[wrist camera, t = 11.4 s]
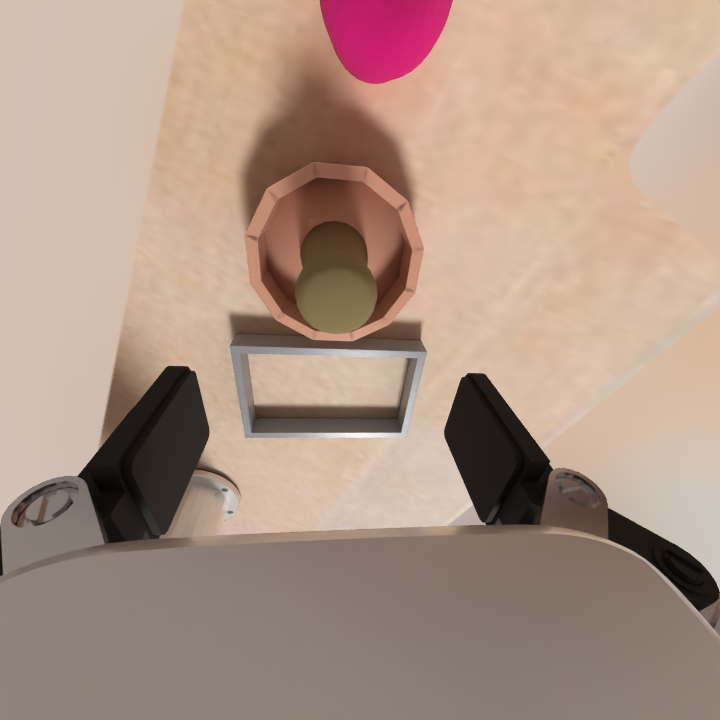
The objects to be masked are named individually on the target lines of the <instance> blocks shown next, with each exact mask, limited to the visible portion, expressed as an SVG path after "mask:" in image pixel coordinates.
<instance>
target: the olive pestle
mask: <svg viewBox="0 0 720 720" xmlns="http://www.w3.org/2000/svg"><path fill="white" fill-rule="evenodd" d="M300 257H301V262H302V270H301V272H300V274H299V276H298V278H297V281H296V289H295V297H296V302H297V307H298V309H299V311H300V312H301V314H302V316H303V318H304V319H305V320H306V321H307V322H308V323H309V324H310V325H311V326H312V327H314V328H316V329H318V330H320V331H322V332H324V333H330V334H344V333H349V332H351V331H353V330H356V329H358V328H359V327H361V326H362V325H363V324H364V323H365V322H367V320H368V319H369V317H370V316H371V314H372V313H373V311H374V307H375V304H376V300H377V285H376V282H375V280H374V277H373V275H372V272H371V270H370V269H369V268H368V267H367V264H368V253H367V247H366V244H365V241H364V239H363V237H362V236H361V235H360V234H359V232H358V231H357V230H356V229H355V228H353V227H352V226H350V225H348V224H347V223H343V222H339V221H327V222H323V223H321V224H319V225H317V226H315V227H313V228H312V229H311V230H310V231H309V232H308V233H307V234H306V236H305V239H304V241H303V243H302V246H301V253H300Z"/></svg>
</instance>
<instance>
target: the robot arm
mask: <svg viewBox="0 0 720 720" xmlns="http://www.w3.org/2000/svg"><path fill="white" fill-rule="evenodd" d="M444 435H445V439H446V441H447V444H448V446H449V449H450V451H451V453H452V456H453V458H454V460H455V463H456V465H457V467H458V470H459V472H460V474H461V477H462V479H463V481H464V484H465V486H466V488H467V491H468V493H469V495H470V498H471V500H472V502H473V505H474V507H475V509H476V512H477V514H478V516H479V518H480V520H481V521H482V522H485V523H486V525H470V526H440V527H411V528H383V529H357V530H332V531H307V532H284V533H262V534H239V535H219V533H220V530H221V527H222V523H223V521H225V520H227V519H229V518H231V517H232V516H233V515H234V514H235V513H236V511H237V510H238V507H239V503H240V494H239V492H238V490H237V488H236V487H235V486H234V485H233V484H232V483H231V482H230V481H228V480H227V479H225V478H223V477H221V476H220V475H217V474H214V473H212V472H208V471H203V470H196V469H195V468H196V466H197V464H198V461H199V459H200V457H201V454H202V452H203V450H204V448H205V445H206V443H207V441H208V438H209V425H208V421H207V417H206V413H205V409H204V405H203V401H202V397H201V393H200V388H199V384H198V380H197V376H196V373H195V371H190V369H189V367H187V366H168V367H166V368H165V370H164V371H163V372H162V373H161V375H160V376H159V377H158V378H157V380H156V381H155V382H154V383H153V385H152V386H151V387H150V388H149V390H148V391H147V392H146V393H145V395H144V396H143V397H142V398H141V400H140V401H139V402H138V403H137V404H136V406H135V407H134V408H133V409H132V410H131V411H130V412H129V413H128V414H127V416H126V417H125V418H124V419H123V421H122V422H121V423H120V424H119V426H118V427H117V428H116V429H115V431H114V432H113V433H112V434H111V435H110V437H109V438H108V439H107V440H106V442H105V443H104V444H103V445H102V447H101V448H100V449H99V450H98V452H97V453H96V454H95V455H94V457H93V458H92V459H91V460H90V462H89V463H88V464H87V465H86V467H85V468H84V469H83V470H82V471H81V473H80V474H79V475H78V476H77V477H75V476H64V477H58V478H54V479H51V480H48V481H45V482H42V483H40V484H38V485H37V486H34V487H32V488H31V489H29V490H27V491H26V492H25V493H23V494H22V495H20V496H19V497H18V498H17V499H16V500H15V501H14V502H13V503H12V504H10V505H9V506H8V508H7V509H6V511H5V512H4V514H3V516H2V520H1V524H0V720H720V592H719V589H718V586H717V584H716V582H715V580H714V579H713V577H712V576H711V574H710V573H709V572H708V570H707V569H706V568H705V567H704V566H703V565H702V564H701V563H700V562H699V561H698V560H696V559H695V558H694V557H693V556H692V555H691V554H689V553H688V552H686V551H685V550H683V549H682V548H680V547H678V546H677V545H675V544H673V543H671V542H669V541H668V540H666V539H664V538H662V537H660V536H658V535H657V534H654V533H653V532H651V531H649V530H648V529H646V528H644V527H642V526H640V525H638V524H636V523H635V522H633V521H631V520H629V519H628V518H626V517H624V516H622V515H620V514H618V513H617V512H615V511H613V510H611V509H609V508H608V504H607V499H606V497H605V495H604V493H603V492H602V490H601V489H600V488H599V487H598V486H597V485H596V484H595V483H594V482H593V481H592V480H590V479H589V478H587V477H586V476H584V475H582V474H581V473H579V472H576V471H574V470H571V469H566V468H557V469H554V470H553V469H552V467H551V466H550V465H549V462H550V460H549V459H548V458H547V456H546V455H545V454H544V452H543V451H542V450H541V448H540V447H539V445H538V444H537V443H536V441H535V440H534V439H533V437H532V436H531V435H530V433H529V432H528V431H527V429H526V428H525V427H524V425H523V424H522V423H521V421H520V420H519V419H518V417H517V416H516V415H515V413H514V412H513V411H512V409H511V408H510V407H509V405H508V404H507V403H506V401H505V400H504V399H503V397H502V396H501V395H500V393H499V392H498V391H497V389H496V388H495V387H494V385H493V384H492V383H491V381H490V380H489V379H488V377H487V376H486V375H485V374H482V373H468V374H467V375H466V376H465V377H462V378H461V381H460V384H459V387H458V390H457V393H456V396H455V399H454V402H453V405H452V408H451V411H450V414H449V417H448V420H447V423H446V426H445V430H444Z"/></svg>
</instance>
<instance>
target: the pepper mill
mask: <svg viewBox="0 0 720 720" xmlns="http://www.w3.org/2000/svg"><path fill="white" fill-rule="evenodd" d="M452 1H453V0H320V6H321V11H322V15H323V19H324V23H325V26H326V29H327V32H328V34H329V37H330V39H331V41H332V44H333V47H334V49H335V52H336V54H337V56H338V58H339V60H340V61H341V63H342V64H343V65H344V67H345V68H346V70H348V71H349V72H350V73H351V74H352V75H353V76H354V77H356V78H357V79H359V80H361V81H364V82H367V83H372V84H380V83H385V82H387V81H390V80H393V79H397V78H399V77H402V76H404V75H406V74H407V73H409V72H411V71H412V70H414V69H415V68H416V67H417V66H418V65H419V64H421V62H422V61H423V60H424V59H425V58H426V57H427V56H428V54H429V53H430V51H431V50H432V48H433V47H434V45H435V43H436V41H437V40H438V38H439V36H440V34H441V32H442V31H443V28H444V26H445V23H446V21H447V18H448V15H449V12H450V8H451V5H452Z"/></svg>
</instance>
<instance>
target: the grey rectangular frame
mask: <svg viewBox="0 0 720 720" xmlns="http://www.w3.org/2000/svg"><path fill="white" fill-rule="evenodd" d="M230 349H231V355H232V361H233V367H234V373H235V379H236V385H237V391H238V397H239V403H240V409H241V415H242V421H243V427H244V433H245V438H327V437H407V433H408V429H409V425H410V420H411V416H412V412H413V408H414V404H415V399H416V395H417V391H418V387H419V383H420V379H421V374H422V370H423V366H424V362H425V358H426V354H427V351H426V349H425V347H424V345H423V343H422V342H421V340H401V339H373V338H359V339H357V340H355V341H329V340H312V339H310V338H308V337H306V336H289V335H262V334H236V336H235V338H234V339H233V341H232V343H231V345H230ZM247 353H252V354H287V355H322V356H357V357H391V358H410V361H409V366H408V370H407V375H406V380H405V385H404V390H403V395H402V399H401V404H400V409H399V414H398V419H370V418H256V415H255V408H254V400H253V393H252V385H251V378H250V370H249V363H248V355H247Z"/></svg>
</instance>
